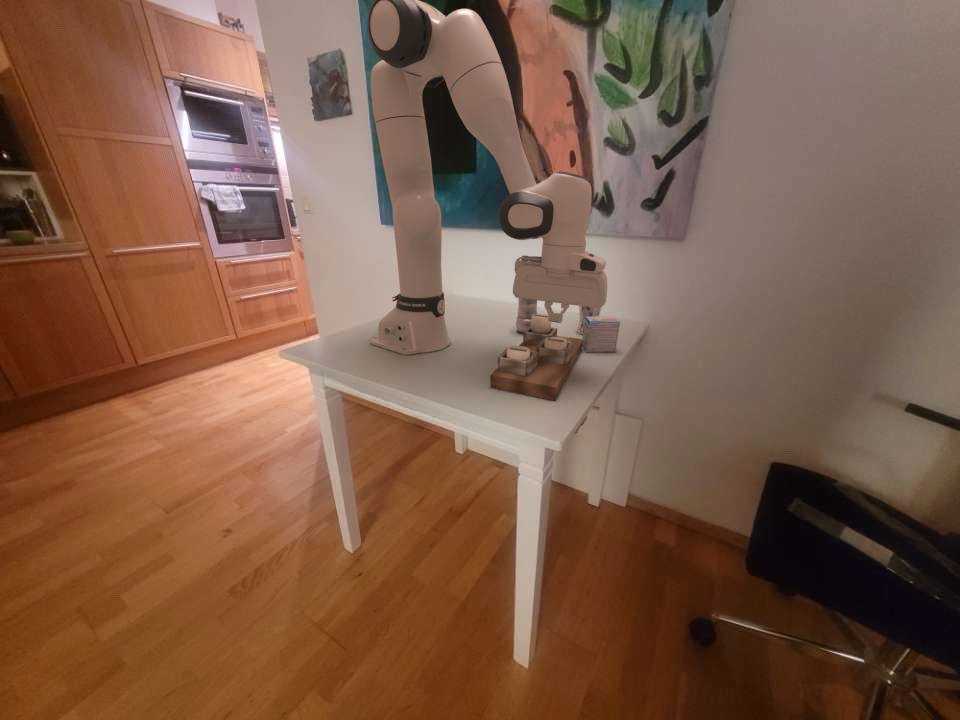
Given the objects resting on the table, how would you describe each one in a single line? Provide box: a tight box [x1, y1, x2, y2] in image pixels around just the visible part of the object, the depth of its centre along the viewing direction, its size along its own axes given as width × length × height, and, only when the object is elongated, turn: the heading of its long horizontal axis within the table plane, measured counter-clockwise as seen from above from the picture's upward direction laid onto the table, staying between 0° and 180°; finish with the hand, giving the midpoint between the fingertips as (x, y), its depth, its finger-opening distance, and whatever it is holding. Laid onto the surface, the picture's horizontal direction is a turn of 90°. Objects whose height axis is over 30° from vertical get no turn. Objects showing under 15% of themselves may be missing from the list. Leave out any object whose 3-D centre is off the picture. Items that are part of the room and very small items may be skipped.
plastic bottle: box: [515, 298, 538, 334], centre depth 107 cm, size 6×7×20 cm
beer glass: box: [576, 306, 603, 336], centre depth 108 cm, size 7×7×15 cm
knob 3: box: [544, 337, 567, 351], centre depth 85 cm, size 5×5×4 cm
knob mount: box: [489, 325, 583, 402], centre depth 87 cm, size 14×30×6 cm, turn 156°
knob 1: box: [506, 345, 530, 361], centre depth 79 cm, size 5×5×4 cm
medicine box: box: [582, 315, 621, 353], centre depth 96 cm, size 8×4×9 cm, turn 92°
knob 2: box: [531, 313, 552, 334], centre depth 93 cm, size 5×5×4 cm
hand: (554, 321), depth 82 cm, fingers closed
